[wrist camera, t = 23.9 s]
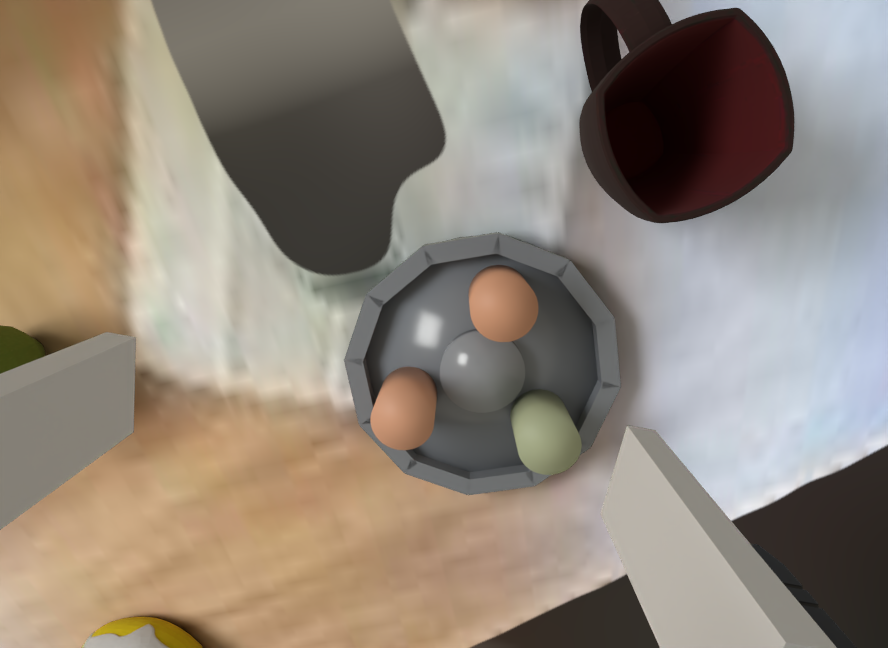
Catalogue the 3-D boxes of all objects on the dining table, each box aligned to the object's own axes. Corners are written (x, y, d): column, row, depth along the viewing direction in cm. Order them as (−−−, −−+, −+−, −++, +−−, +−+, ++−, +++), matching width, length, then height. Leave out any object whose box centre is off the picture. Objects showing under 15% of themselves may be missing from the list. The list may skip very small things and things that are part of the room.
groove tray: (301, 347, 43) (293, 355, 41) (503, 177, 39) (505, 176, 37) (462, 520, 47) (463, 535, 45) (660, 381, 43) (671, 391, 41)
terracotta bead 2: (503, 252, 40) (509, 261, 34) (539, 298, 40) (552, 313, 35) (456, 290, 40) (456, 305, 35) (493, 334, 41) (498, 355, 36)
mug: (592, 232, 40) (647, 248, 28) (512, 67, 37) (537, 9, 25) (710, 169, 38) (818, 158, 27) (636, -8, 36) (722, -106, 24)
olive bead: (499, 411, 43) (504, 442, 38) (543, 378, 42) (556, 405, 37) (532, 450, 44) (543, 486, 38) (577, 419, 43) (594, 450, 38)
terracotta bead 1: (373, 407, 43) (362, 437, 38) (391, 358, 42) (382, 382, 37) (426, 426, 43) (421, 458, 38) (445, 377, 42) (443, 404, 37)
